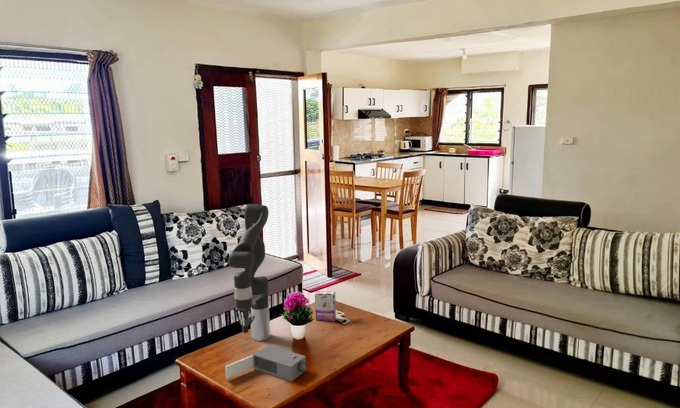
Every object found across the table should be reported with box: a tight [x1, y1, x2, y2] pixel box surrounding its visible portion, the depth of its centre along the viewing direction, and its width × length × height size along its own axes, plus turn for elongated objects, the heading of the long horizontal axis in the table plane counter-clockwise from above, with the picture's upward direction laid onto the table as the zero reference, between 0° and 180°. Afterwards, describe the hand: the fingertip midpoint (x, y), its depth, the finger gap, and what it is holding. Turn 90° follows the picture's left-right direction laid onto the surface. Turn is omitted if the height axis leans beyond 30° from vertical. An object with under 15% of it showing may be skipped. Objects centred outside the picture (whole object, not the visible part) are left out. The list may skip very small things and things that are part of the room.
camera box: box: [252, 344, 308, 382], centre depth 221 cm, size 24×11×8 cm, turn 57°
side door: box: [224, 354, 255, 380], centre depth 218 cm, size 14×1×6 cm, turn 132°
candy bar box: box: [314, 290, 337, 322], centre depth 275 cm, size 11×5×16 cm, turn 80°
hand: (245, 332), depth 214 cm, fingers closed
